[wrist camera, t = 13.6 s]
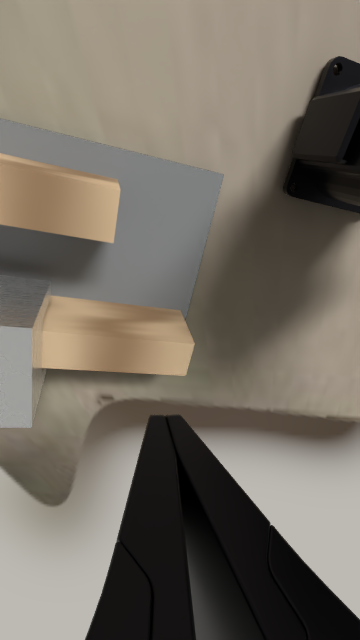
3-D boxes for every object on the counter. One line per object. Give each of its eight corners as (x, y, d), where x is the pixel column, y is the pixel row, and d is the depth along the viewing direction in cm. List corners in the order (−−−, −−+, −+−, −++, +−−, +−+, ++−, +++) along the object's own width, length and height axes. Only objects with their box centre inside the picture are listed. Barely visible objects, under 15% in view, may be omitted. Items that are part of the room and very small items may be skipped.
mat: (221, 173, 17) (224, 174, 17) (176, 346, 23) (177, 349, 22) (-79, 98, 14) (-84, 97, 13) (-51, 328, 19) (-54, 331, 18)
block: (208, 199, 18) (254, 227, 12) (172, 343, 22) (194, 412, 16) (-79, 135, 14) (-203, 133, 8) (-55, 324, 18) (-126, 406, 13)
